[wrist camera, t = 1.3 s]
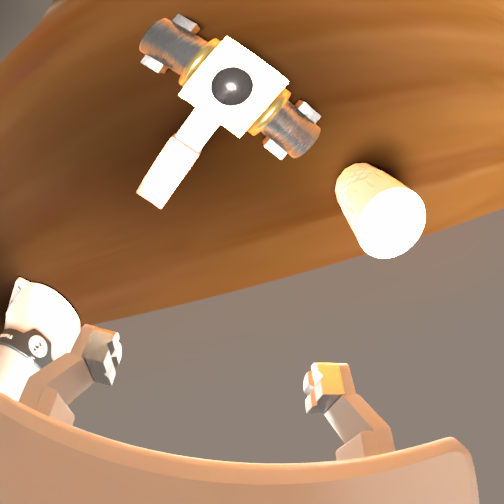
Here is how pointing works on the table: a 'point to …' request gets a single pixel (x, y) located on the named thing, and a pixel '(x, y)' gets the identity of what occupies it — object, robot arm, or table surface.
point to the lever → (195, 134)
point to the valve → (235, 55)
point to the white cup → (380, 210)
